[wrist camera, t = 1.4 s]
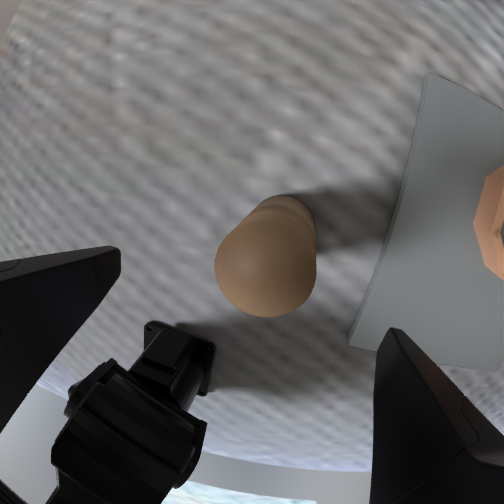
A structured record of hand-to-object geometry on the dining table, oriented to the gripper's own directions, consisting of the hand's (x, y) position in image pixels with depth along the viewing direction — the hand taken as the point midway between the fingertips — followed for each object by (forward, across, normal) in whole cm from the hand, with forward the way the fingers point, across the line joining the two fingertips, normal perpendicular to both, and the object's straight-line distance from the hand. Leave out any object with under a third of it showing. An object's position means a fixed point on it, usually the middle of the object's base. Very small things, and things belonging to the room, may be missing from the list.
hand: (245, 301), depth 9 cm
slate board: (+12, -15, -1) cm, 19 cm away
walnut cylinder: (+12, 0, +2) cm, 12 cm away
